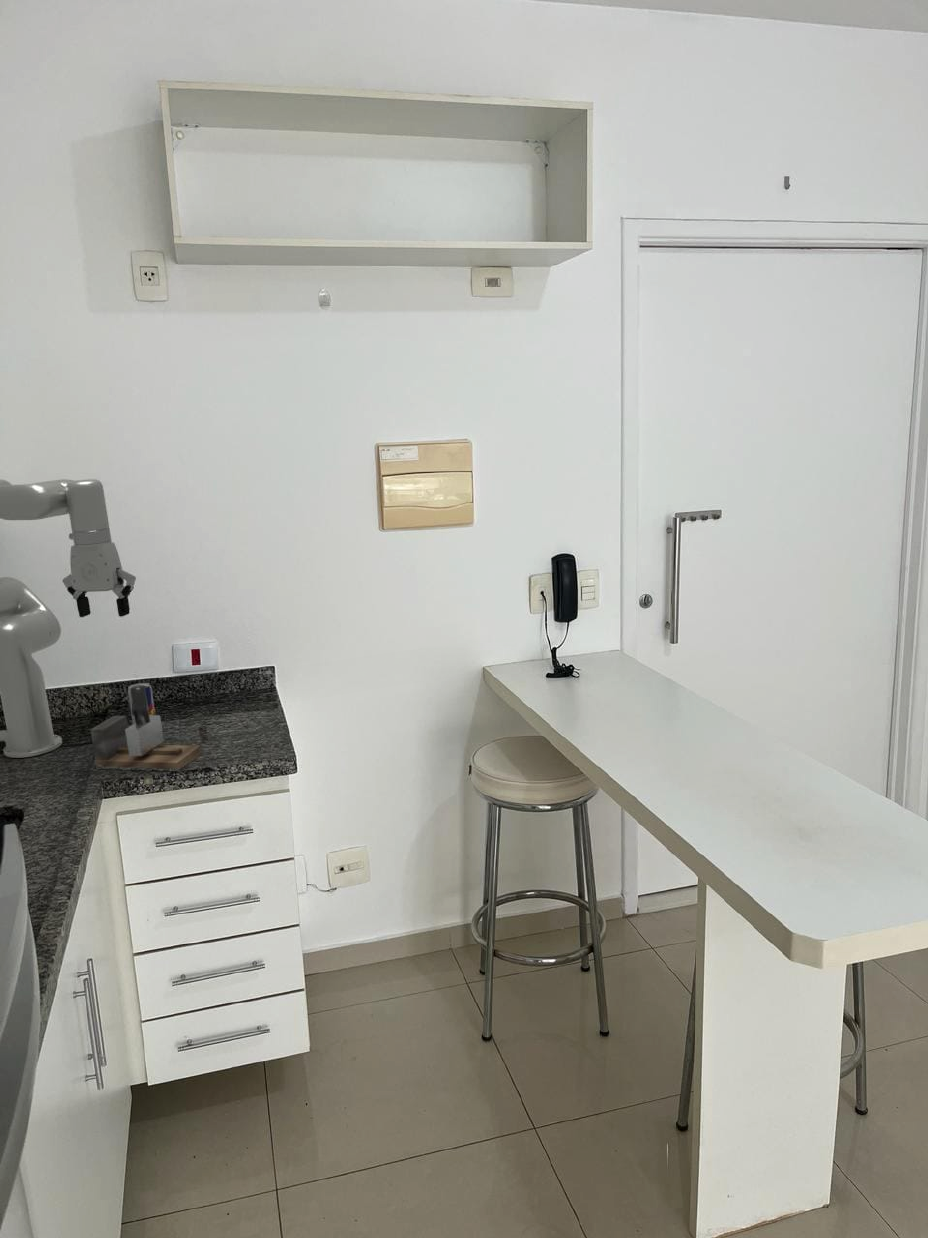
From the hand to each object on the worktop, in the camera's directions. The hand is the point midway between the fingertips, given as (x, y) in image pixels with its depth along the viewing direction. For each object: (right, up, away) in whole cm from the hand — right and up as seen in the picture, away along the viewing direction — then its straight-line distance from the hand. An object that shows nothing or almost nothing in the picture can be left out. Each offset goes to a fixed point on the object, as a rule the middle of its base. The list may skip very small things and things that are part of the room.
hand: (104, 615), depth 205 cm
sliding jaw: (+9, -29, +1) cm, 30 cm away
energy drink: (+2, -29, +20) cm, 35 cm away
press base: (+9, -32, +2) cm, 34 cm away
